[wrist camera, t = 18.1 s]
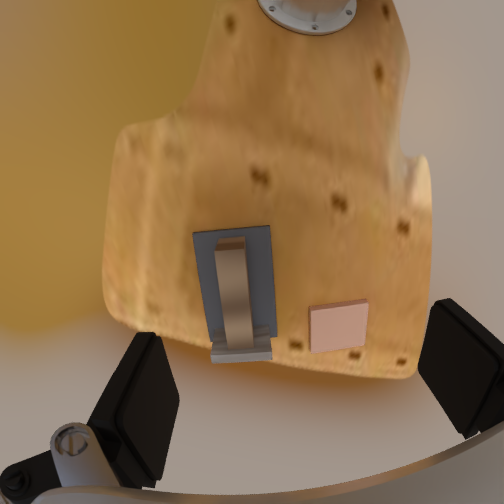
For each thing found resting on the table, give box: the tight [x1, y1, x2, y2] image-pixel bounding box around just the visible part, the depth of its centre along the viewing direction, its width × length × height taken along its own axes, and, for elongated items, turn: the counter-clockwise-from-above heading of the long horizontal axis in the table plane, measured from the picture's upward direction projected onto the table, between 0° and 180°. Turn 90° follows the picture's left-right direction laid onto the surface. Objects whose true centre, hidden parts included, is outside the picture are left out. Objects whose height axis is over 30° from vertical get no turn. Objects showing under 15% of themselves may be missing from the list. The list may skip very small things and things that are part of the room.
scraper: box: [211, 236, 272, 363], centre depth 34 cm, size 13×7×6 cm, turn 5°
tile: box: [309, 299, 369, 354], centre depth 39 cm, size 2×8×7 cm
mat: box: [192, 225, 277, 342], centre depth 37 cm, size 15×9×1 cm, turn 5°
